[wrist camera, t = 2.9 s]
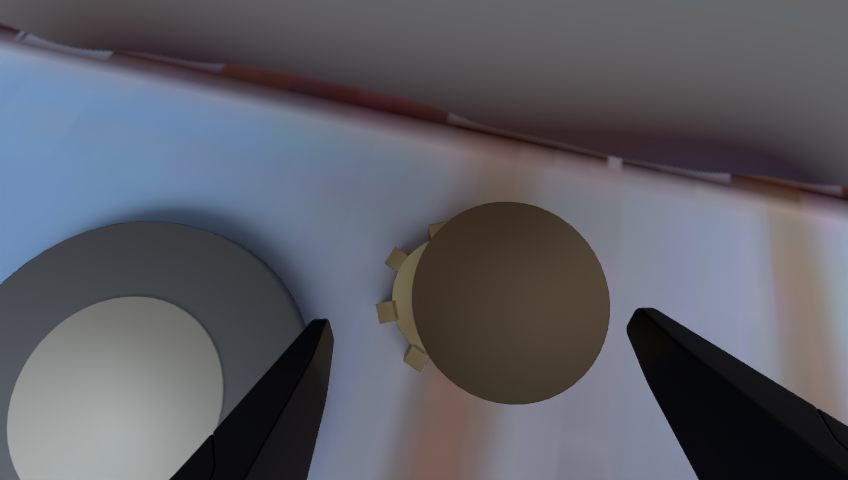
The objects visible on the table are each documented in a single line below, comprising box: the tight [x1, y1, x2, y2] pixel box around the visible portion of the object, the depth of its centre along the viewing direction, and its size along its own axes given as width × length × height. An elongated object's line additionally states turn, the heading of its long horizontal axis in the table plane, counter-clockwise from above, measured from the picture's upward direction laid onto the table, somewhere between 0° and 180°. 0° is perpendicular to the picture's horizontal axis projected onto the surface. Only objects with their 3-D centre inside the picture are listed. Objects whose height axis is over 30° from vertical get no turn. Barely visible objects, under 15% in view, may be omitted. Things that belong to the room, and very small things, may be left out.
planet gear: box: [376, 202, 610, 404], centre depth 12 cm, size 8×8×12 cm
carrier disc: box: [0, 221, 306, 480], centre depth 16 cm, size 18×18×1 cm
